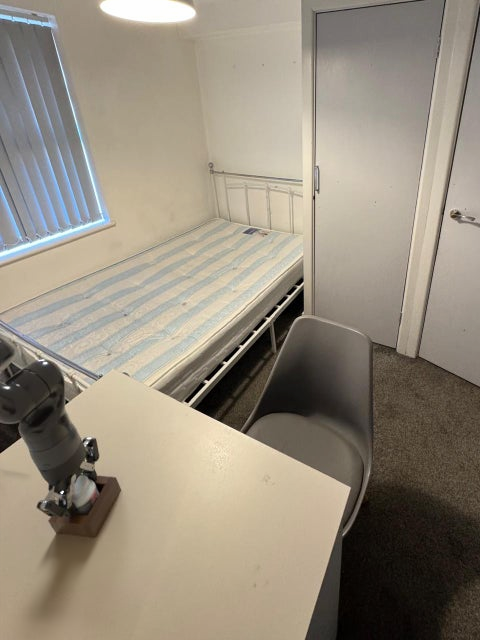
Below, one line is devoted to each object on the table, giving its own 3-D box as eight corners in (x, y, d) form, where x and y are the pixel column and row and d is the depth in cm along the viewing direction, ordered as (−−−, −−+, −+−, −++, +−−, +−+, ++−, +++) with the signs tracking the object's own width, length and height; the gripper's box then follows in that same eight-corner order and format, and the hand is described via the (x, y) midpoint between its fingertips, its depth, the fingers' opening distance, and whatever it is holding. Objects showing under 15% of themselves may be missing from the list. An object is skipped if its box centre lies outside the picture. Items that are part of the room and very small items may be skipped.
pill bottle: (104, 513, 72) (92, 488, 68) (77, 530, 70) (62, 505, 65) (101, 491, 76) (90, 466, 72) (75, 507, 74) (61, 482, 69)
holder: (55, 533, 69) (47, 521, 67) (85, 486, 78) (79, 473, 75) (95, 537, 68) (89, 525, 66) (121, 489, 77) (116, 477, 75)
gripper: (67, 414, 70) (89, 461, 78) (7, 487, 57) (40, 535, 65) (99, 416, 70) (118, 464, 77) (46, 490, 57) (75, 539, 64)
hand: (82, 496), depth 71 cm, fingers open, 5 cm apart
